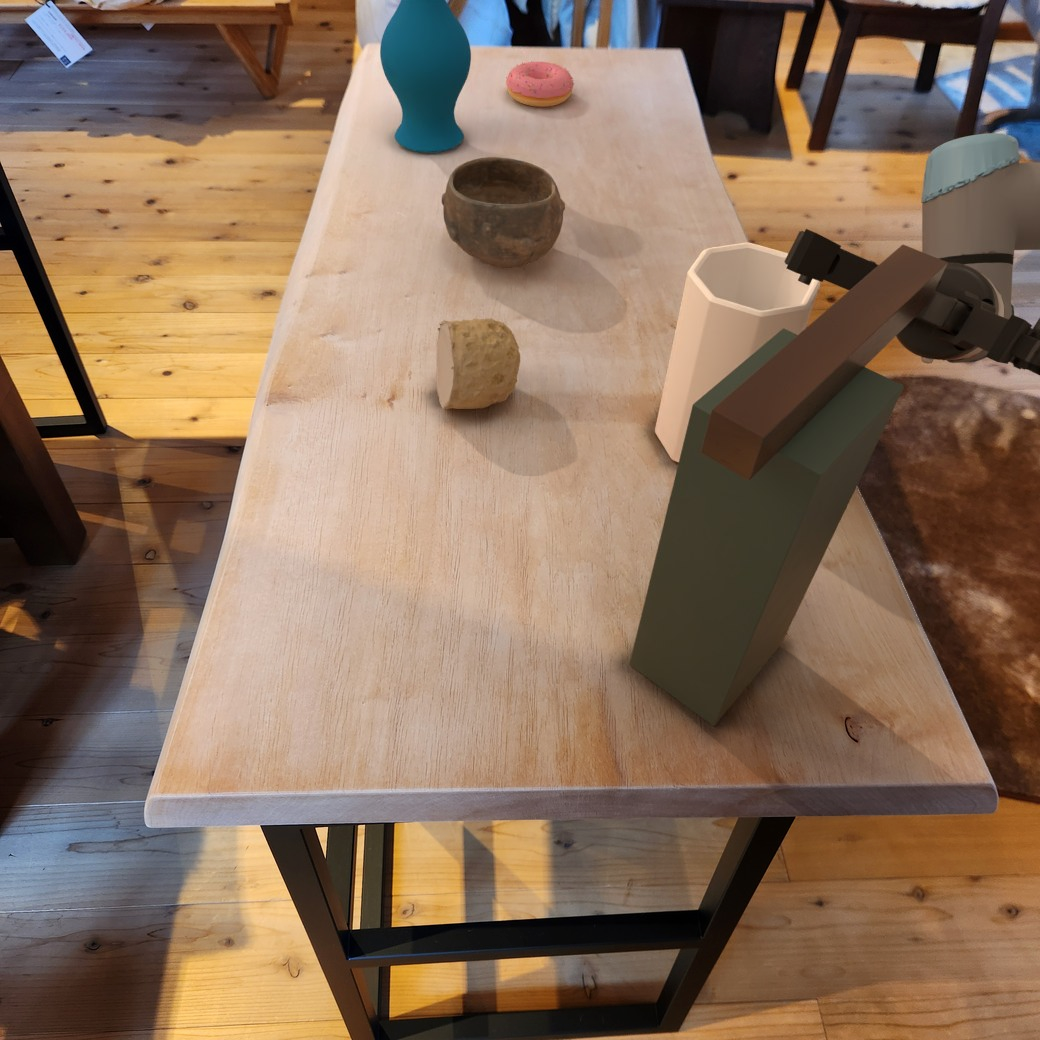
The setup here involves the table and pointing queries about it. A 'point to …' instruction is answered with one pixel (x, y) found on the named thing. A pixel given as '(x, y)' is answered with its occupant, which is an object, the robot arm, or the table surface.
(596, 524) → the table surface
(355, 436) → the table surface
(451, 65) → the vase
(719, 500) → the stand
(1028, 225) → the robot arm
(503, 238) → the bowl
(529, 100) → the doughnut
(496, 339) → the cut tuber
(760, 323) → the cup
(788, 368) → the rod
